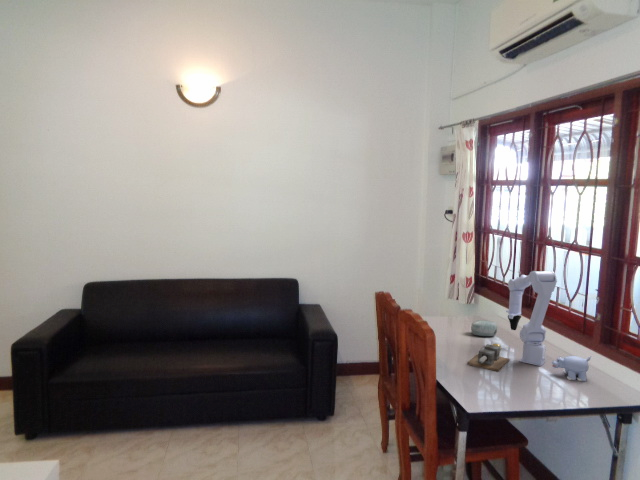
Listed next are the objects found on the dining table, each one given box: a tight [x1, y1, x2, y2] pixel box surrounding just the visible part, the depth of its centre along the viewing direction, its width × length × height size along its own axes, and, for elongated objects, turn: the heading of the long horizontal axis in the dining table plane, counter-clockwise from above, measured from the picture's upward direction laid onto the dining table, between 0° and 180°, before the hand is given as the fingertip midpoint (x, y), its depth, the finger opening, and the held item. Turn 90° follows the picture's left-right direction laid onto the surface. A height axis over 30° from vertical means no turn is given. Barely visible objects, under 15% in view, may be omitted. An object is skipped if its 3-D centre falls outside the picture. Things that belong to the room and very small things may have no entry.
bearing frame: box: [466, 343, 511, 373], centre depth 229 cm, size 14×17×6 cm
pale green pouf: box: [470, 319, 498, 337], centre depth 269 cm, size 14×10×10 cm
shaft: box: [479, 342, 502, 363], centre depth 229 cm, size 4×22×4 cm, turn 144°
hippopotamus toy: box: [551, 355, 592, 382], centre depth 215 cm, size 11×15×10 cm
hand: (513, 329), depth 249 cm, fingers closed
